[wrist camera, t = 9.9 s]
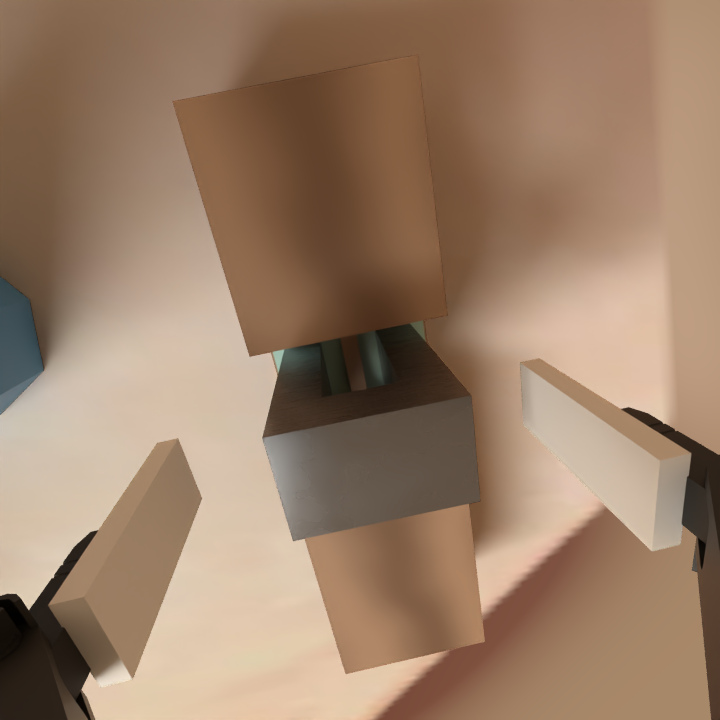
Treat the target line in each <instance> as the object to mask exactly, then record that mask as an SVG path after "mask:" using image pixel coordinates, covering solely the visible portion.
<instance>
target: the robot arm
mask: <svg viewBox="0 0 720 720" xmlns="http://www.w3.org/2000/svg"><path fill="white" fill-rule="evenodd" d="M520 371H521V391H522V410H523V425H524V426H525V427H526V428H527V429H528V430H529V431H530V432H531V433H532V434H533V435H534V436H535V437H536V438H537V439H538V440H539V441H540V442H541V443H542V444H543V445H544V446H545V447H546V448H547V449H548V450H549V451H550V452H551V453H552V454H553V455H554V456H555V457H556V458H557V459H558V460H559V461H560V462H561V463H563V464H564V465H565V466H566V467H567V468H568V469H569V470H570V471H571V472H572V473H573V474H574V475H575V476H576V477H577V478H578V479H579V480H580V481H581V482H582V483H583V484H584V485H585V486H586V487H587V488H588V489H589V490H590V491H591V492H592V493H593V494H594V495H595V496H596V497H597V498H598V499H599V500H600V501H601V502H602V503H603V504H604V505H605V506H606V507H607V508H608V509H609V510H610V511H611V512H612V513H613V514H614V515H615V516H616V517H617V518H619V519H620V520H621V521H622V522H623V523H624V524H625V525H626V526H627V527H628V528H629V529H630V530H631V531H632V532H633V533H634V534H635V535H636V536H637V537H638V538H639V539H640V540H641V541H642V542H643V543H644V544H645V545H646V546H647V547H648V548H649V549H650V550H651V551H656V550H660V549H664V548H668V547H672V546H676V545H680V544H681V536H682V527H683V526H685V527H686V528H687V529H688V530H689V531H691V532H692V533H693V534H694V535H695V536H697V538H696V546H695V553H694V559H693V567H692V571H695V572H697V573H698V583H699V594H700V605H701V615H702V625H703V637H704V647H705V657H706V669H707V679H708V690H709V700H710V711H711V720H720V455H718V454H716V453H714V452H713V451H711V450H709V449H707V448H706V447H704V446H702V445H701V444H699V443H697V442H696V441H694V440H692V439H690V438H689V437H687V436H685V435H684V434H682V433H680V432H678V431H675V429H673V428H672V427H670V426H668V425H667V424H663V423H662V422H661V421H660V420H658V419H656V418H655V417H653V416H651V415H650V414H648V413H645V412H642V411H639V410H635V409H632V408H629V407H628V408H623V409H620V408H618V407H616V406H615V405H613V404H612V403H610V402H608V401H607V400H605V399H604V398H602V397H600V396H599V395H597V394H596V393H594V392H592V391H591V390H589V389H588V388H586V387H584V386H583V385H581V384H580V383H578V382H576V381H575V380H573V379H572V378H570V377H568V376H567V375H565V374H563V373H562V372H560V371H559V370H557V369H555V368H554V367H552V366H551V365H549V364H547V363H546V362H544V361H543V360H541V359H534V360H530V361H525V362H521V363H520ZM201 500H202V497H201V495H200V492H199V490H198V487H197V485H196V482H195V480H194V477H193V475H192V472H191V470H190V467H189V465H188V462H187V460H186V457H185V455H184V452H183V450H182V447H181V445H180V442H179V440H178V439H173V440H169V441H164V442H160V443H157V444H156V446H155V447H154V449H153V450H152V452H151V453H150V455H149V456H148V458H147V459H146V461H145V462H144V464H143V465H142V466H141V468H140V469H139V471H138V472H137V474H136V475H135V477H134V478H133V480H132V481H131V483H130V484H129V486H128V487H127V489H126V490H125V492H124V493H123V495H122V496H121V498H120V499H119V501H118V502H117V504H116V505H115V507H114V508H113V510H112V511H111V513H110V514H109V516H108V517H107V519H106V520H105V521H104V523H103V524H102V526H101V527H100V529H99V530H97V531H93V532H90V533H89V534H88V535H87V536H86V537H85V538H84V539H82V540H81V541H80V542H79V543H78V544H77V545H76V546H75V547H74V548H73V549H72V551H71V552H70V554H69V555H68V556H67V558H66V559H65V561H64V562H63V565H61V566H60V568H59V569H58V570H57V572H56V573H55V575H54V578H52V579H51V580H50V582H49V583H48V584H47V586H46V587H45V589H44V590H43V592H42V593H41V594H40V596H39V597H38V599H37V600H36V601H35V603H34V604H33V606H32V607H31V608H30V610H28V609H27V607H26V606H25V604H24V603H23V601H22V600H21V598H20V597H19V596H18V595H17V594H5V595H2V596H0V720H95V718H94V715H93V712H92V710H91V707H90V704H89V702H88V699H87V697H86V696H85V694H84V693H83V691H82V690H81V689H82V687H83V685H84V683H85V681H86V679H87V677H88V675H89V673H90V672H91V674H92V675H93V677H94V678H95V680H96V681H97V683H98V685H99V686H100V688H101V687H105V686H109V685H113V684H117V683H121V682H125V681H129V680H133V677H134V675H135V672H136V669H137V667H138V664H139V662H140V659H141V656H142V654H143V651H144V649H145V646H146V643H147V641H148V638H149V636H150V633H151V630H152V628H153V625H154V622H155V620H156V617H157V615H158V612H159V609H160V607H161V604H162V602H163V599H164V596H165V594H166V591H167V589H168V586H169V583H170V581H171V578H172V575H173V573H174V570H175V568H176V565H177V562H178V560H179V557H180V555H181V552H182V549H183V547H184V544H185V542H186V539H187V536H188V534H189V531H190V528H191V526H192V523H193V521H194V518H195V515H196V513H197V510H198V508H199V505H200V502H201Z"/></svg>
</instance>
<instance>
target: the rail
mask: <svg viewBox="0 0 720 720" xmlns="http://www.w3.org/2000/svg"><path fill="white" fill-rule="evenodd" d="M173 105H174V108H175V111H176V115H177V118H178V121H179V125H180V128H181V131H182V134H183V138H184V141H185V144H186V148H187V151H188V154H189V158H190V161H191V164H192V168H193V171H194V174H195V177H196V181H197V184H198V187H199V191H200V194H201V197H202V201H203V204H204V207H205V210H206V214H207V217H208V220H209V224H210V227H211V230H212V234H213V237H214V240H215V244H216V247H217V250H218V253H219V257H220V260H221V263H222V267H223V270H224V273H225V277H226V280H227V283H228V287H229V290H230V293H231V296H232V300H233V303H234V306H235V310H236V313H237V316H238V320H239V323H240V326H241V330H242V333H243V336H244V339H245V343H246V346H247V349H248V353H249V356H250V357H251V356H256V355H260V354H265V353H270V352H271V354H272V358H273V361H274V365H275V368H276V372H277V375H278V373H279V369H280V365H281V361H282V357H283V353H284V349H289V348H294V347H298V346H303V345H308V344H313V343H318V342H321V346H322V350H323V355H324V359H325V364H326V368H327V373H328V377H329V382H330V387H331V391H332V395H337V394H342V393H347V392H352V391H357V390H362V389H367V388H372V387H377V386H382V385H384V384H383V378H382V372H381V366H380V360H379V354H378V348H377V342H376V336H375V330H380V329H384V328H389V327H394V326H399V325H404V324H408V323H410V324H411V325H412V326H413V327H414V329H415V330H416V331H417V332H418V333H419V334H420V336H421V337H422V338H423V339H424V340H425V342H426V343H427V337H426V330H425V322H424V320H427V319H432V318H437V317H442V316H447V306H446V298H445V289H444V280H443V271H442V262H441V254H440V245H439V236H438V227H437V219H436V210H435V201H434V192H433V184H432V175H431V166H430V157H429V148H428V140H427V131H426V122H425V113H424V105H423V96H422V87H421V78H420V70H419V61H418V55H413V56H408V57H403V58H397V59H392V60H387V61H382V62H376V63H371V64H366V65H361V66H355V67H350V68H345V69H340V70H334V71H329V72H324V73H319V74H313V75H308V76H303V77H298V78H292V79H287V80H282V81H277V82H271V83H266V84H261V85H256V86H250V87H245V88H240V89H235V90H229V91H224V92H219V93H214V94H208V95H203V96H198V97H193V98H187V99H182V100H177V101H173ZM305 541H306V544H307V548H308V551H309V554H310V558H311V561H312V564H313V568H314V571H315V574H316V578H317V581H318V584H319V587H320V591H321V594H322V597H323V601H324V604H325V607H326V611H327V614H328V617H329V621H330V624H331V627H332V630H333V634H334V637H335V640H336V644H337V647H338V650H339V654H340V657H341V660H342V664H343V667H344V670H345V673H346V674H348V673H352V672H357V671H361V670H365V669H369V668H374V667H378V666H382V665H387V664H391V663H395V662H399V661H404V660H408V659H412V658H417V657H421V656H425V655H429V654H434V653H438V652H442V651H447V650H451V649H455V648H460V647H464V646H468V645H472V644H477V643H481V642H485V640H484V631H483V622H482V613H481V605H480V596H479V587H478V578H477V569H476V561H475V552H474V543H473V534H472V526H471V517H470V508H469V504H465V505H461V506H456V507H451V508H447V509H442V510H437V511H432V512H428V513H423V514H418V515H414V516H409V517H404V518H400V519H395V520H390V521H385V522H381V523H376V524H371V525H367V526H362V527H357V528H353V529H348V530H343V531H338V532H334V533H329V534H324V535H320V536H315V537H310V538H305Z"/></svg>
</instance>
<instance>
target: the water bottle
mask: <svg viewBox="0 0 720 720" xmlns="http://www.w3.org/2000/svg"><path fill="white" fill-rule="evenodd" d="M43 371H44V369H43V364H42V359H41V354H40V349H39V344H38V339H37V335H36V330H35V325H34V320H33V315H32V310H31V306H30V301H29V299H28V298H27V297H25V296H24V295H23V294H22V293H20V292H19V291H18V290H17V289H15V288H14V287H13V286H12V285H10V284H9V283H8V282H7V281H5V280H4V279H3V278H2V277H0V415H1V414H2V413H3V412H4V411H5V409H6V408H7V407H8V406H9V405H10V404H11V403H12V402H13V401H14V400H15V399H16V398H17V397H18V396H19V395H20V394H21V393H22V392H23V391H24V390H25V389H26V388H27V387H28V386H29V385H30V384H31V383H32V382H33V381H34V380H35V379H36V378H37V377H38V376H39V375H40V374H41V373H42V372H43Z"/></svg>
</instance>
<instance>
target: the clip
mask: <svg viewBox="0 0 720 720" xmlns="http://www.w3.org/2000/svg"><path fill="white" fill-rule="evenodd" d="M375 336H376V342H377V348H378V354H379V360H380V366H381V372H382V378H383V384H384V385H382V386H377V387H372V388H367V389H362V390H357V391H352V392H347V393H342V394H337V395H332V391H331V387H330V382H329V377H328V373H327V368H326V364H325V359H324V355H323V350H322V346H321V342H318V343H313V344H308V345H303V346H298V347H294V348H289V349H284V353H283V357H282V361H281V365H280V369H279V373H278V377H277V381H276V385H275V389H274V393H273V397H272V401H271V405H270V409H269V413H268V417H267V421H266V426H265V430H264V434H263V442H264V445H265V449H266V452H267V455H268V459H269V462H270V465H271V469H272V472H273V475H274V479H275V482H276V485H277V489H278V492H279V495H280V499H281V502H282V505H283V509H284V512H285V515H286V519H287V522H288V525H289V529H290V532H291V535H292V539H293V541H296V540H301V539H305V538H310V537H315V536H320V535H324V534H329V533H334V532H338V531H343V530H348V529H353V528H357V527H362V526H367V525H371V524H376V523H381V522H385V521H390V520H395V519H400V518H404V517H409V516H414V515H418V514H423V513H428V512H432V511H437V510H442V509H447V508H451V507H456V506H461V505H465V504H470V503H475V502H480V491H479V480H478V468H477V456H476V445H475V433H474V421H473V410H472V398H471V395H470V393H469V392H468V391H467V390H466V389H465V388H464V386H463V385H462V384H461V383H460V382H459V380H458V379H457V378H456V377H455V376H454V375H453V373H452V372H451V371H450V370H449V369H448V368H447V366H446V365H445V364H444V363H443V362H442V360H441V359H440V358H439V357H438V356H437V355H436V353H435V352H434V351H433V350H432V349H431V347H430V346H429V345H428V344H427V343H426V342H425V340H424V339H423V338H422V337H421V336H420V334H419V333H418V332H417V331H416V330H415V329H414V327H413V326H412V325H411V324H410V323H408V324H404V325H399V326H394V327H389V328H384V329H380V330H375Z"/></svg>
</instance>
